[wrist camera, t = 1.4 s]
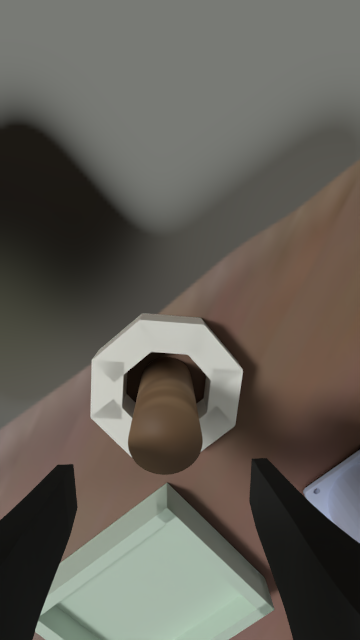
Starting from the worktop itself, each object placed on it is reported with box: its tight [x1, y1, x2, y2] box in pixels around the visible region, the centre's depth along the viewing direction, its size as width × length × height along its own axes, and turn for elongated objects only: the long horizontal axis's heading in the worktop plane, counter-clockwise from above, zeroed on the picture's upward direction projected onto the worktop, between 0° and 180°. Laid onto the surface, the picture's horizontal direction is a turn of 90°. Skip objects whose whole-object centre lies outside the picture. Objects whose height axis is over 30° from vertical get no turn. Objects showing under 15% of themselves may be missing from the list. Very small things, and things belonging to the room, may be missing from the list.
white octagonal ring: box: [91, 314, 243, 457], centre depth 20 cm, size 10×10×2 cm
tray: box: [35, 483, 274, 640], centre depth 24 cm, size 15×13×2 cm
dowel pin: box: [128, 357, 203, 475], centre depth 17 cm, size 4×4×7 cm
